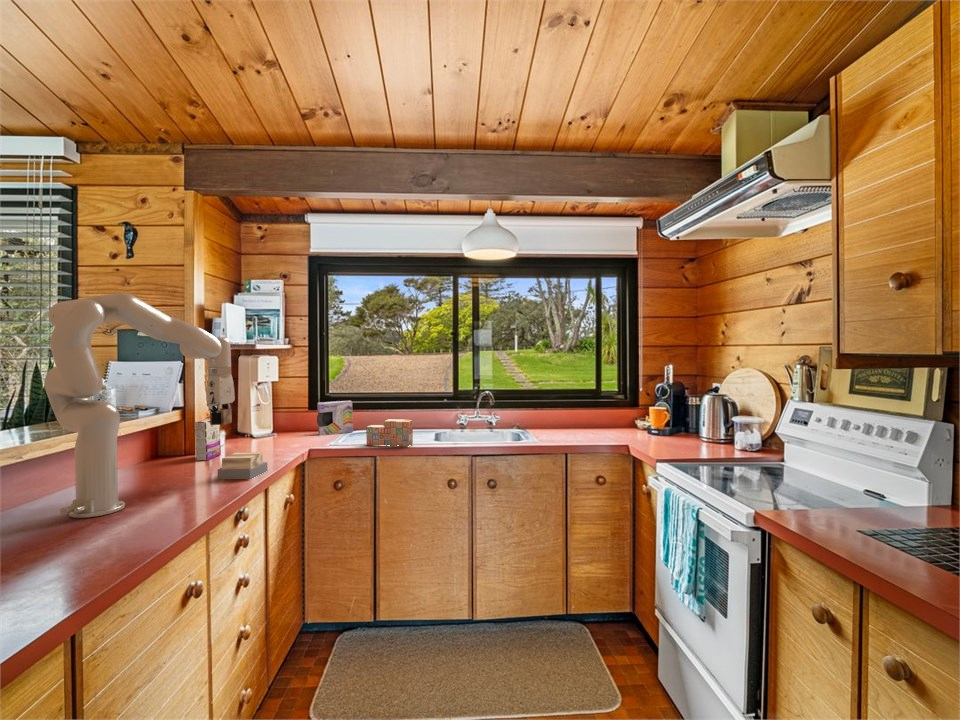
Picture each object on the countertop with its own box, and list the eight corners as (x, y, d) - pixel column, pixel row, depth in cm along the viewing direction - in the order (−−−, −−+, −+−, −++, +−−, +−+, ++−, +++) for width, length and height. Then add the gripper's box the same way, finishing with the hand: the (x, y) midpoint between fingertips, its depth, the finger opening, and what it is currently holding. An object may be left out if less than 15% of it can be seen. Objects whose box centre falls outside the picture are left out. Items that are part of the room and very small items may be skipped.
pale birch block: (250, 469, 174) (250, 457, 174) (222, 469, 173) (222, 458, 173) (262, 462, 184) (262, 452, 184) (235, 463, 183) (235, 452, 183)
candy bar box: (209, 455, 215) (209, 418, 214) (221, 455, 215) (220, 418, 214) (194, 461, 203) (194, 421, 203) (206, 461, 203) (206, 421, 203)
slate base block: (250, 481, 172) (250, 469, 172) (217, 480, 173) (217, 469, 173) (267, 472, 184) (267, 462, 184) (236, 472, 185) (236, 462, 185)
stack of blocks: (366, 446, 233) (365, 420, 233) (371, 443, 239) (371, 418, 239) (408, 447, 229) (408, 421, 229) (413, 445, 235) (412, 419, 235)
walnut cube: (223, 424, 172) (223, 410, 172) (210, 424, 172) (209, 410, 172) (231, 422, 177) (231, 408, 177) (218, 422, 177) (218, 408, 177)
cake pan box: (317, 435, 263) (317, 403, 262) (316, 434, 267) (315, 402, 267) (353, 432, 272) (353, 401, 272) (351, 431, 276) (350, 400, 276)
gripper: (215, 373, 165) (217, 426, 166) (242, 370, 182) (244, 419, 183) (194, 373, 166) (196, 427, 166) (223, 370, 183) (224, 419, 183)
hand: (221, 422), depth 175 cm, fingers closed on walnut cube, 4 cm apart
